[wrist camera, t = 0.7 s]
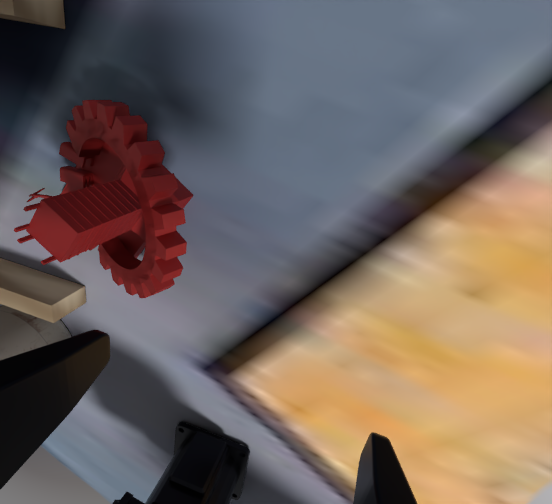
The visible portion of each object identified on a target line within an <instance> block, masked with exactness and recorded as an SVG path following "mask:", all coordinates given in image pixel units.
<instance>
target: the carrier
mask: <svg viewBox="0 0 552 504" xmlns="http://www.w3.org/2000/svg"><path fill="white" fill-rule="evenodd" d="M0 18H3V19H9V20H15V21H21V22H26V23H32V24H38V25H44V26H50V27H56V28H62V29H65V19H64V6H63V0H0ZM85 303H86V293H85V286H83V285H80V284H77V283H74V282H71V281H68V280H65V279H62V278H59V277H56V276H53V275H50V274H47V273H44V272H41V271H38V270H35V269H32V268H29V267H26V266H23V265H20V264H17V263H14V262H11V261H8V260H5V259H2V258H0V304H2V305H5V306H8V307H11V308H13V309H16V310H19V311H22V312H24V313H27V314H30V315H32V316H35V317H38V318H41V319H43V320H46V321H49V322H52V323H55V322H57V321H58V320H60V319H61V318H63V317H64V316H66V315H67V314H69V313H71V312H72V311H74V310H75V309H77V308H78V307H80V306H81V305H83V304H85Z"/></svg>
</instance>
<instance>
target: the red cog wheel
mask: <svg viewBox="0 0 552 504" xmlns="http://www.w3.org/2000/svg"><path fill="white" fill-rule="evenodd" d="M82 102H83V106H75V107H74V108H73V109H72V114H73V117H74V120H68V121H67V125H66V130H67V132H68V135H69V137H70V140H71V142H72V143H71V142H63V143H62V144H61V146H60V152H59V154H60V155H62V156H63V157H65V158H67V159H68V160H70V161H72V162H73V163H75V164H76V167H75V168H74V167H71V166H65V167H61V168H60V180H61V181H62V182H65V183H67V184H66V186H65V187H64V189H63V191H62V193H61V194H60V195H57V196H53V197H52V196H49V195H40V194H37V193H39V192H40V191H42V190H43V189H45V188H43V189H41V190H39V191H37V192H35V193H34V194H31V195H32V196H33V197H31V198H30V199H29V200H28V201H27V202H29V201H31V200H32V199H34V198H38V197H42V198H45V199H42V200H41V202H40V203H37V204H33V205H30V206H26V207H25V208H24V210H25V211H29V210H33V209H36V208H37V210H36V212H35V214H34V216H33V218H32V220H31V222H30V223H29V224H26V225H23V226H20V227H16V228H15V229H14V231H15V232H18V231H21V230H24V229H27V230H26V231H27V232H28V233H29V234H30V235H28V236H25V237H23V238H20V239H18V240H17V241H18V242H19V243H23V242H26V241H28V240H31V239H34V238H35V239H36V240H37V241H38V242H39V243H40V244H41V245H42V246H43V247H44V248H45V249H46V250H47V251H49V252H50V253H51V254H52V255H53V256H52V257H49V258H47V259H45V260H42V261H41V263H42V264H43V265H45V264H47V263H49V262H52V261H54V260H56V259H57V260H58V261H59V262H63V261H65V260H67V259H68V260H69V259H70V258H71V257H73V256H75V255H79V254H80V253H82V252H84V251H85V252H86V251H87V250H88V249H89V250H92V249H94V248H95V247H96V246H98V245H99V248H98V251H99V255H100V263H101V265H102V266H103V268H104V269H105V270H107V269H109V268H111V273H112V278H113V281H114V282H115V283H116V284H117V285H118V286H119V285H121V284H124V286H125V289H126V292H127V293H129V294H130V295H134V294H137V293H138V295H139V297H140V298H146V297H148V296H151V295H154V294H156V293H159V292H161V291H163V290H166V289H168V288H170V287H171V286H173V285H174V284H175V283H174V281H173V278H175V277H177V276H180V275H181V272H182V270H183V266H182V265H181V263H180V261H179V260H178V258H177V256H180V255H183V254H186V244H187V242H186V241H185V240H184V239H183V238H182V236H181V235H180V234H179V233H178V232H177V231H176V226H177V225H181V224H184V223H186V222H185V215H184V209H183V208H184V207H185V205H186V204H187V203H188V202H189V200H190V199H191V198H192V197H193V194H192V193H191V192H190V191H189V190H188V189H187V188H186V187H185V186H184V185H183V184H182V183H181V182H180V181H179V180H178V179H177V178H176V177H175V176H174V173H173V174H171V173H170V172H169V171H168V170H167V169H166V168H165V167H164V166H163V165H162V161H163V158H164V154H165V152H164V150H163V148H162V146H161V144H160V143H159V141H158V140H157V141H147V123H146V122H145V121H144V120H143V119H142V117H141V116H140V115H139V116H130V113H129V106H128V105H126V104H124V103H122V102H112V100H85V101H82ZM31 195H29V197H30V196H31ZM144 248H145V253H144V257H143V260H142V261H140V260H138V259H137V257H138V256H139V254H140V253H141V252H142V250H143V249H144Z"/></svg>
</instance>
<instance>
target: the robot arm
mask: <svg viewBox="0 0 552 504" xmlns="http://www.w3.org/2000/svg"><path fill="white" fill-rule="evenodd" d="M109 359H110V338H109V335H108V334H107V333H104V332H102V331H99V330H91V331H88V332H85V333H82V334H79V335H76V336H73V337H70V338H67V339H64V340H61V341H58V342H55V343H52V344H48V345H45V346H42V347H39V348H36V349H33V350H30V351H27V352H24V353H21V354H18V355H15V356H12V357H9V358H6V359H3V360H0V489H1V488H2V487H3V486H4V485H5V484H6V483H7V482H8V480H9V479H10V478H11V477H12V476H13V475H14V474H15V473H16V472H17V471H18V469H19V468H20V467H21V466H22V465H23V464H24V463H25V462H26V461H27V459H28V458H29V457H30V456H31V455H32V454H33V453H34V452H35V451H36V450H37V449H38V447H39V446H40V445H41V444H42V443H43V442H44V441H45V440H46V439H47V438H48V436H49V435H50V434H51V433H52V432H53V431H54V430H55V429H56V428H57V427H58V425H59V424H60V423H61V422H62V421H63V420H64V419H65V418H66V417H67V415H68V414H69V413H70V412H71V411H72V410H73V408H74V407H75V406H76V405H77V403H78V402H79V401H80V399H81V398H82V397H83V395H84V394H85V393H86V391H87V390H88V389H89V387H90V386H91V385H92V383H93V382H94V381H95V379H96V378H97V377H98V375H99V374H100V373H101V371H102V370H103V369H104V367H105V366H106V365H107V363H108V361H109ZM249 454H250V451H249V449H248V448H247V447H245V446H243V445H240V444H238V443H235V442H233V441H230V440H227V439H225V438H222V437H220V436H217V435H215V434H212V433H210V432H207V431H205V430H202V429H200V428H197V427H195V426H192V425H190V424H187V423H185V422H179V423H178V425H177V427H176V434H175V449H174V457H173V459H172V460H171V462H170V463H169V465H168V467H167V468H166V470H165V472H164V473H163V475H162V477H161V478H160V480H159V482H158V483H157V485H156V487H155V488H154V490H153V492H152V493H151V495H150V497H149V498H148V500H147V502H146V503H145V504H229V502H230V499H231V498H233V499H235V500H238V499H239V498H240V496H241V493H242V488H243V483H244V478H245V474H246V469H247V464H248V459H249ZM113 504H144V503H143V502H141V501H139V500H138V499H136V498H134V497H133V495H132V494H131V493H129V492H126V493H125V494H124V496H123V497H122V498H121V500H115V501H114V502H113ZM353 504H417V502H416V499H415V497H414V495H413V492H412V490H411V488H410V486H409V483H408V481H407V479H406V477H405V474H404V472H403V470H402V467H401V465H400V463H399V461H398V458H397V456H396V454H395V452H394V449H393V447H392V445H391V442H390V440H389V439H388V438H387V437H385V436H382V435H379V434H377V433H371V434H370V435H369V437H368V440H367V442H366V444H365V446H364V449H363V451H362V453H361V457H360V461H359V468H358V475H357V482H356V489H355V496H354V503H353Z"/></svg>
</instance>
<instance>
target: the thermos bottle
mask: <svg viewBox="0 0 552 504" xmlns="http://www.w3.org/2000/svg"><path fill="white" fill-rule="evenodd" d="M70 337H72V336H71V334H70V332H69V331H68V329H67V328H66V326H65V325H64V324H63V322H62V321H61V320H58V321H57V322H55V323H52V322H49V321H46V320H43V319H41V318H38V317H35V316H32V315H30V314H27V313H24V312H22V311H19V310H16V309H13V308H11V307H8V306H5V305H2V306H0V360H3V359H6V358H9V357H12V356H15V355H18V354H21V353H24V352H27V351H30V350H33V349H36V348H39V347H42V346H45V345H48V344H52V343H55V342H58V341H61V340H64V339H67V338H70Z"/></svg>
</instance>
